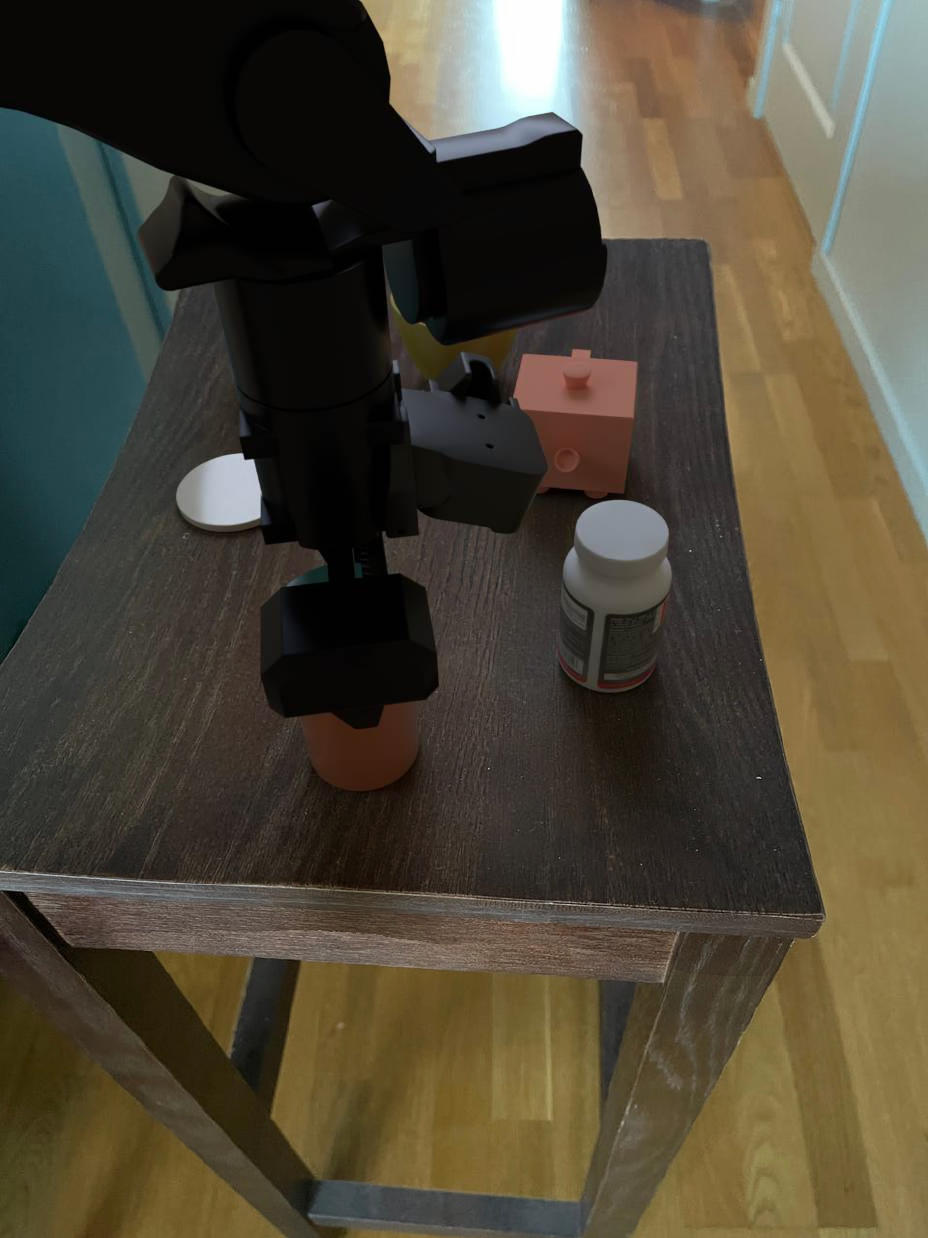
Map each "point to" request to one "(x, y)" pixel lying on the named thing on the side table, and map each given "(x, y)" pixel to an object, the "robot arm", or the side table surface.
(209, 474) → the saucer
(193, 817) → the side table surface
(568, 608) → the pill bottle
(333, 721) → the jar
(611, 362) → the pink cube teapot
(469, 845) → the side table surface
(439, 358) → the flower pot
